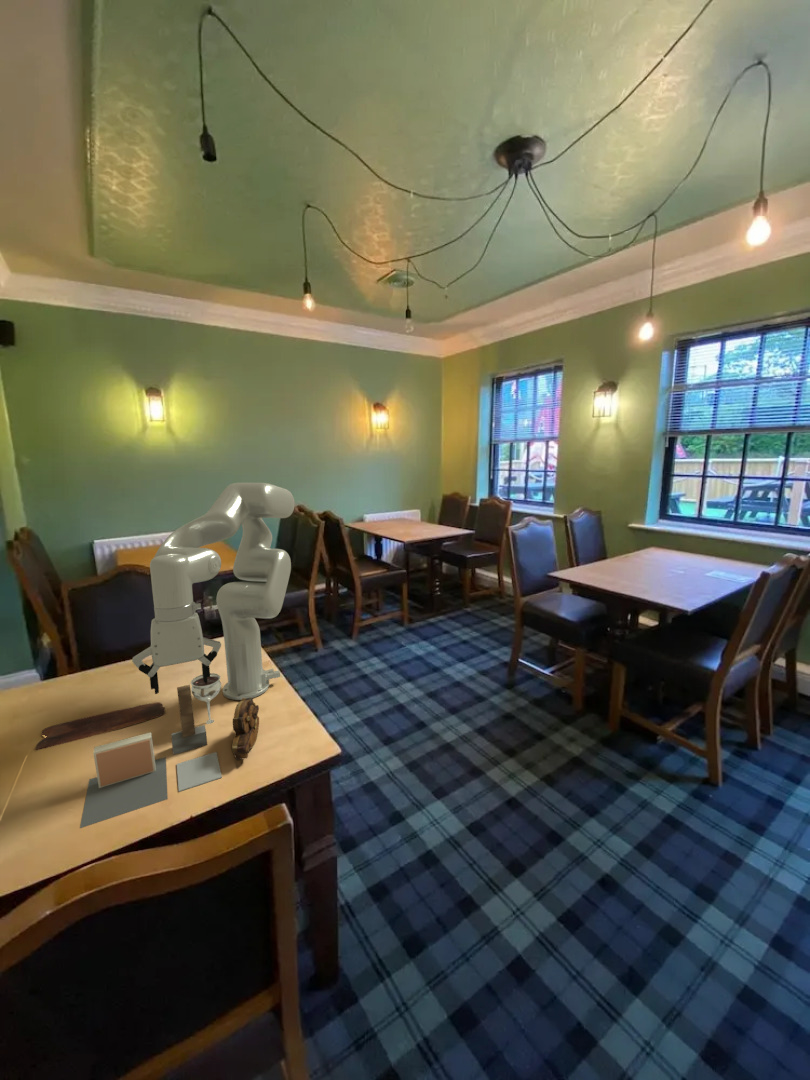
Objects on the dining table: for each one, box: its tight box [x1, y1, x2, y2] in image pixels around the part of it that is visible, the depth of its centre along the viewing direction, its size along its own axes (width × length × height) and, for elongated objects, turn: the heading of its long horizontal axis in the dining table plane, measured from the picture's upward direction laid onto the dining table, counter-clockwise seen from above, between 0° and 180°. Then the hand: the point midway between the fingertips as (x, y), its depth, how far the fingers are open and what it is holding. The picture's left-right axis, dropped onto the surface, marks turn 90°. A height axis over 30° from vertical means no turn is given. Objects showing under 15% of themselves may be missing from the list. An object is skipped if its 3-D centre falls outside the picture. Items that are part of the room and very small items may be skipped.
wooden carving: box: [231, 697, 260, 761], centre depth 103 cm, size 16×5×10 cm, turn 12°
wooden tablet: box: [35, 701, 166, 751], centre depth 112 cm, size 26×2×10 cm
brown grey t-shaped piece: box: [170, 684, 208, 756], centre depth 101 cm, size 7×3×15 cm, turn 119°
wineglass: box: [190, 672, 222, 725], centre depth 111 cm, size 7×7×12 cm
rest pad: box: [176, 751, 223, 793], centre depth 95 cm, size 8×9×1 cm
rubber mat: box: [79, 756, 169, 829], centre depth 90 cm, size 14×14×1 cm
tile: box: [92, 732, 156, 788], centre depth 92 cm, size 10×2×8 cm, turn 119°
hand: (181, 685), depth 99 cm, fingers open, 9 cm apart
